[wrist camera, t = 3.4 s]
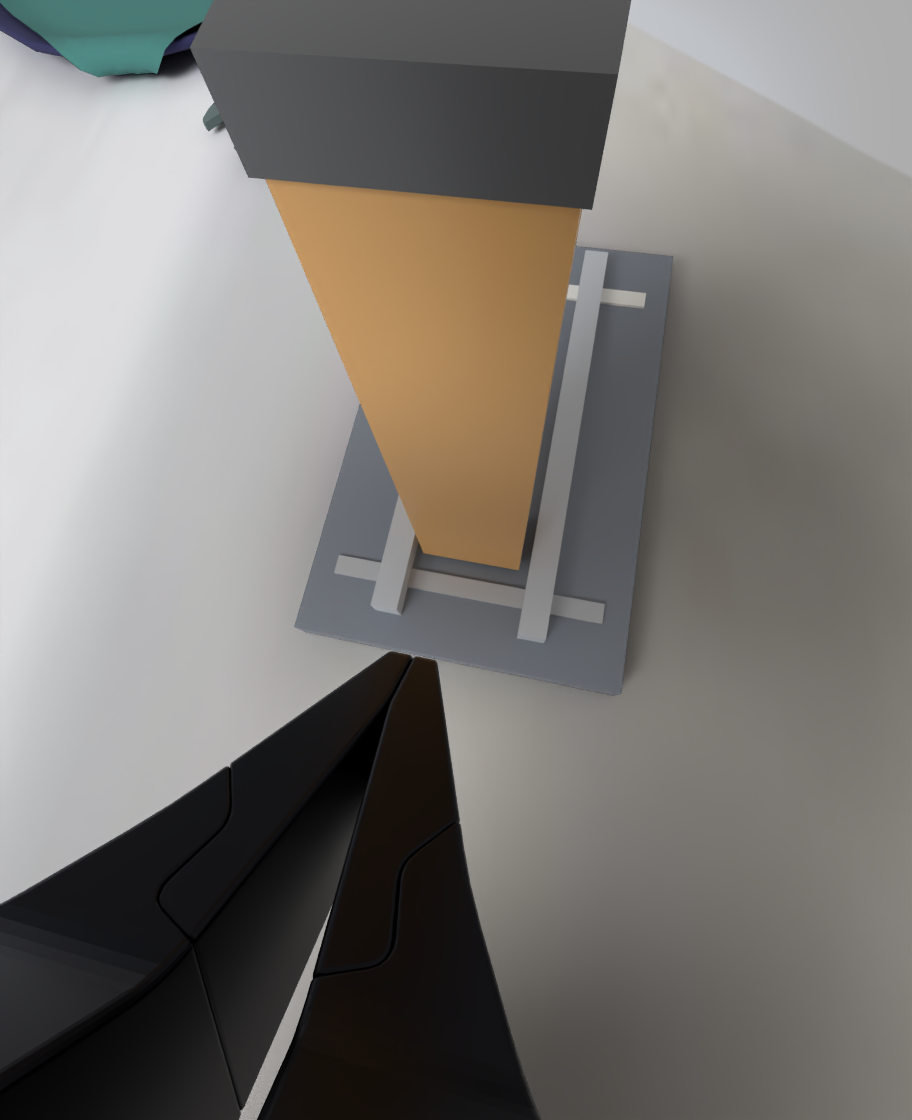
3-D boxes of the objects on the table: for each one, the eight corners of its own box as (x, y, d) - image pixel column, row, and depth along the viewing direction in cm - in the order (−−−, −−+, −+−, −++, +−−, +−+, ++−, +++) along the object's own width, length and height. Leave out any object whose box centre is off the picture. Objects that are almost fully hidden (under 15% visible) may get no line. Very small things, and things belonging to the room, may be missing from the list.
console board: (613, 695, 16) (627, 692, 14) (305, 632, 17) (284, 622, 16) (664, 278, 20) (680, 237, 19) (414, 251, 22) (408, 210, 20)
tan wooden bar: (521, 574, 16) (618, 73, 4) (419, 555, 16) (189, 47, 4) (533, 508, 17) (651, -117, 4) (434, 491, 17) (275, -126, 5)
